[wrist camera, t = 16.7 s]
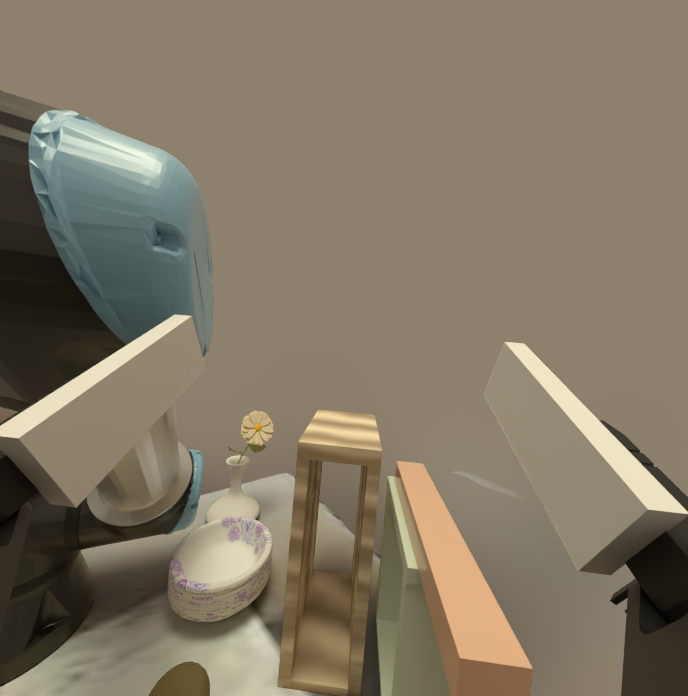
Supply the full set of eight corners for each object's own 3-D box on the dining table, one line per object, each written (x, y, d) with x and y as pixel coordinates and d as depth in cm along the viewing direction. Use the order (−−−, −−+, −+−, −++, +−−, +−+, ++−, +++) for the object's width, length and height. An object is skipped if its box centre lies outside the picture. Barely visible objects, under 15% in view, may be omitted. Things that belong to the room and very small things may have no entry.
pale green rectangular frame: (451, 809, 25) (473, 576, 25) (386, 797, 25) (407, 567, 25) (413, 618, 42) (426, 480, 42) (375, 612, 43) (387, 476, 42)
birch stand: (359, 699, 32) (382, 450, 32) (277, 686, 33) (298, 441, 32) (359, 581, 48) (374, 415, 48) (304, 574, 49) (318, 409, 48)
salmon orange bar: (527, 721, 15) (532, 668, 15) (455, 710, 15) (459, 658, 15) (420, 483, 41) (422, 463, 41) (394, 480, 41) (396, 460, 41)
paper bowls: (138, 632, 37) (142, 576, 37) (206, 549, 52) (209, 509, 52) (242, 656, 36) (247, 597, 35) (282, 564, 51) (285, 522, 50)
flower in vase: (204, 543, 54) (214, 419, 53) (205, 510, 64) (213, 405, 64) (270, 528, 60) (280, 416, 59) (261, 499, 70) (269, 404, 69)
